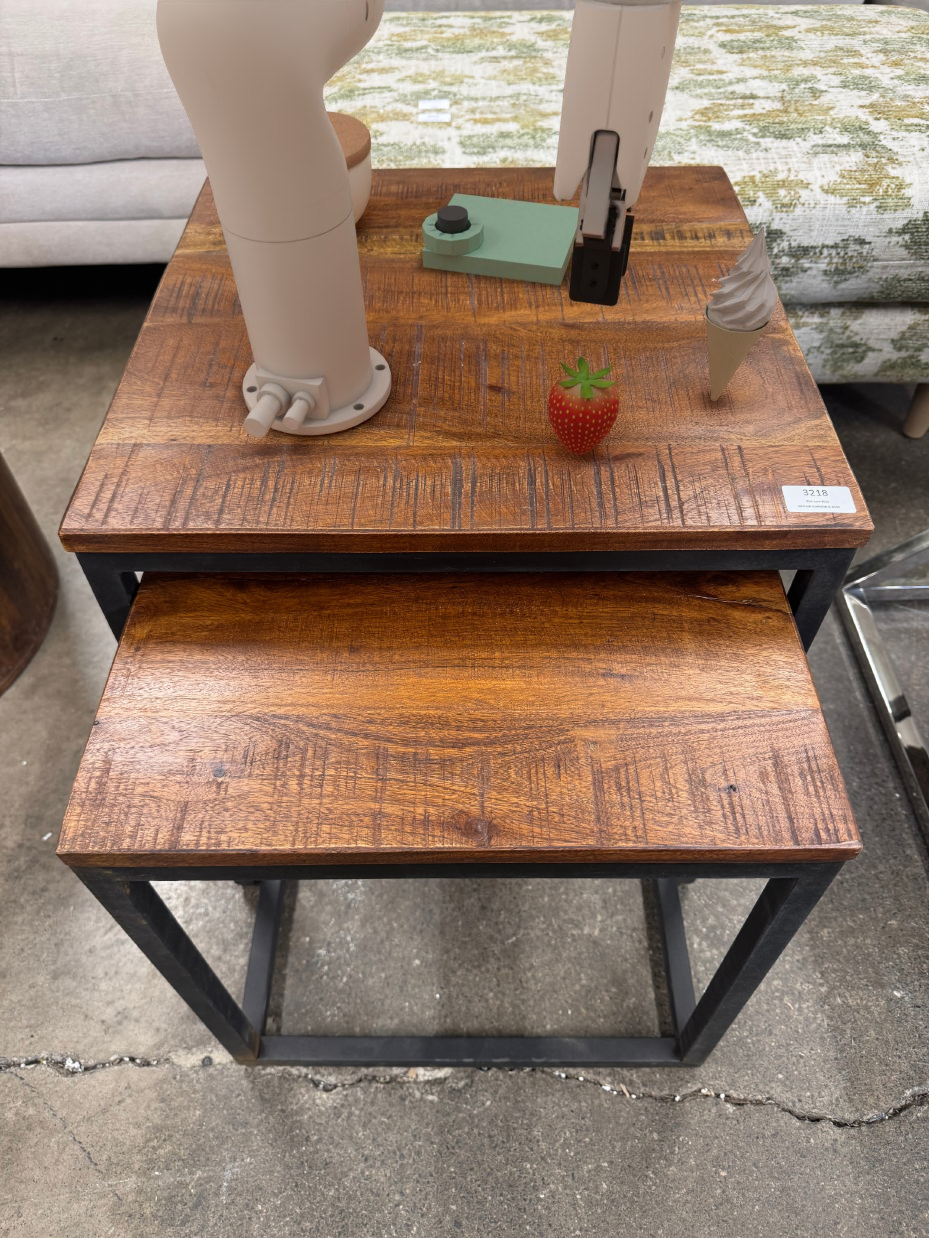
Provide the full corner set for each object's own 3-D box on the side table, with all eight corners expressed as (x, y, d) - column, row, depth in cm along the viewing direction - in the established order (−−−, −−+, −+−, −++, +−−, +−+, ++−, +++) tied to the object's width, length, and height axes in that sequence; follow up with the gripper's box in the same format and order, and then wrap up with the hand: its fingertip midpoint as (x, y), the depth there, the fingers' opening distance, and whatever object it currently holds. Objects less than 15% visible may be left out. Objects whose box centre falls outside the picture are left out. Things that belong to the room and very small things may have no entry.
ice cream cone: (734, 425, 69) (787, 250, 57) (675, 407, 71) (715, 232, 59) (752, 391, 72) (807, 217, 60) (695, 374, 73) (737, 201, 62)
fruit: (543, 469, 66) (550, 384, 60) (544, 426, 69) (551, 341, 63) (613, 472, 66) (627, 387, 60) (610, 428, 69) (623, 343, 63)
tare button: (463, 237, 82) (463, 222, 81) (434, 234, 83) (433, 218, 81) (471, 222, 84) (471, 207, 83) (442, 219, 84) (441, 203, 83)
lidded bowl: (271, 199, 94) (250, 88, 85) (384, 199, 93) (374, 89, 85) (249, 258, 86) (223, 144, 77) (372, 259, 86) (360, 144, 77)
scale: (559, 288, 82) (562, 254, 79) (417, 269, 84) (415, 235, 82) (582, 226, 89) (585, 192, 87) (450, 210, 92) (450, 177, 89)
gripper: (591, -101, 48) (565, 221, 62) (529, -6, 38) (515, 348, 52) (727, -94, 46) (668, 233, 61) (698, 6, 37) (636, 366, 51)
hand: (598, 284), depth 56 cm, fingers closed
